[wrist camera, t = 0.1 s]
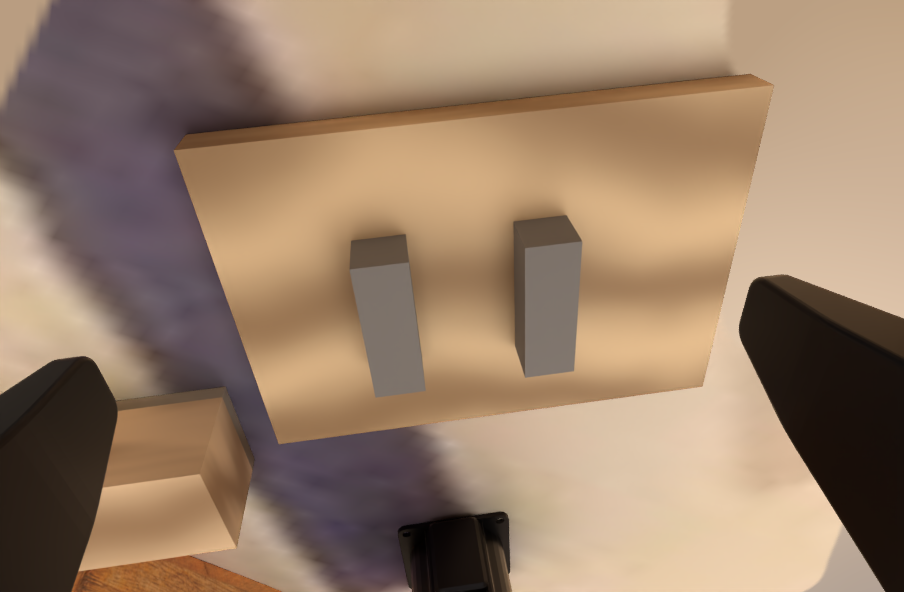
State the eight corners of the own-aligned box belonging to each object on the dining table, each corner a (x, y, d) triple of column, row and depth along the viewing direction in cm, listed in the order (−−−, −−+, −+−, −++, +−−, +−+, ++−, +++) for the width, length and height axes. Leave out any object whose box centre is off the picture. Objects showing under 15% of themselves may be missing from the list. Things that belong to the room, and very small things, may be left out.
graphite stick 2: (560, 340, 25) (573, 371, 24) (515, 346, 25) (525, 377, 23) (566, 214, 22) (582, 241, 20) (513, 221, 22) (524, 248, 20)
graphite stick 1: (422, 358, 25) (425, 391, 23) (375, 364, 25) (375, 397, 23) (405, 234, 21) (408, 262, 20) (351, 240, 21) (349, 269, 20)
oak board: (688, 365, 29) (702, 386, 28) (282, 419, 28) (278, 444, 27) (750, 73, 21) (774, 84, 20) (185, 134, 20) (173, 150, 19)
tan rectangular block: (255, 457, 29) (236, 548, 25) (113, 477, 29) (71, 572, 25) (225, 384, 27) (199, 474, 23) (67, 405, 26) (11, 500, 22)
